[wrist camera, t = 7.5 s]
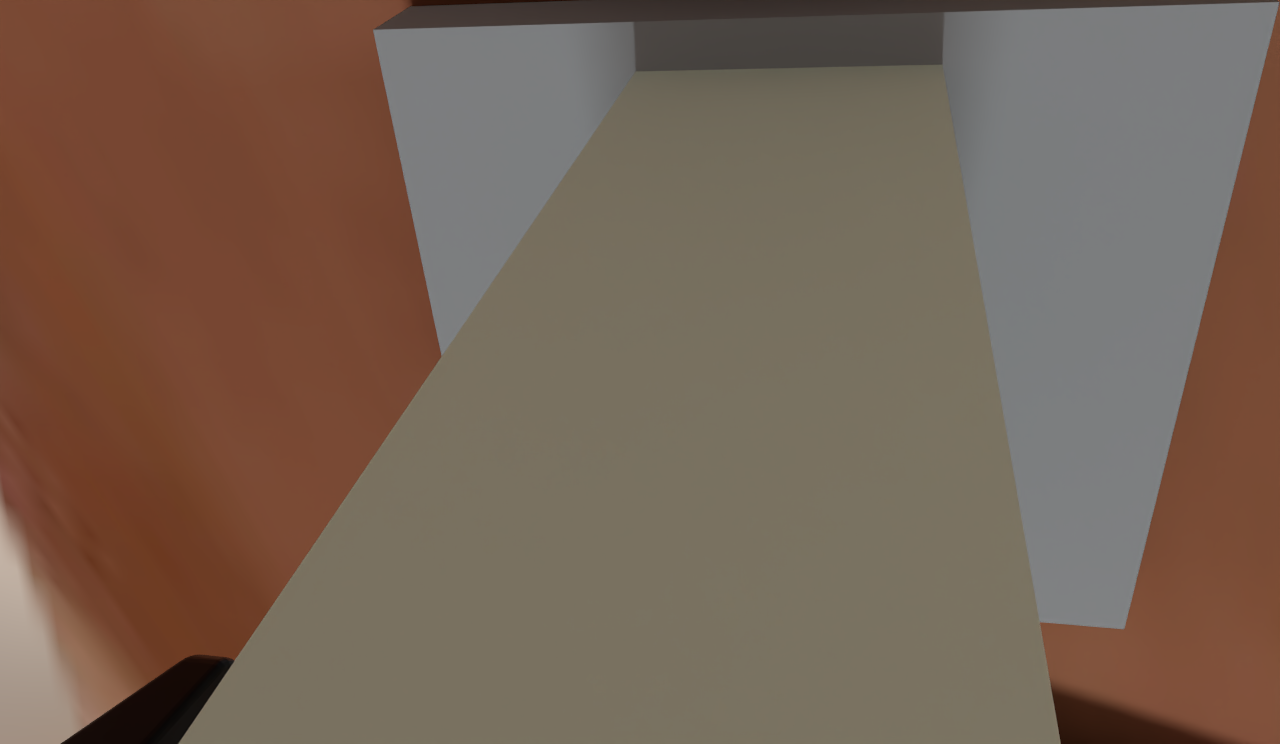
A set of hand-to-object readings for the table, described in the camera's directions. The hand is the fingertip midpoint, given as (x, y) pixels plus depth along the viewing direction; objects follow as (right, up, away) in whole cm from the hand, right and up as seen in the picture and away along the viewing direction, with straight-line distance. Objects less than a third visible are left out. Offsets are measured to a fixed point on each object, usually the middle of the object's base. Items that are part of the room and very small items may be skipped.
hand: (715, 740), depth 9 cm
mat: (+2, +4, +6) cm, 7 cm away
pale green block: (+1, +3, +5) cm, 6 cm away
